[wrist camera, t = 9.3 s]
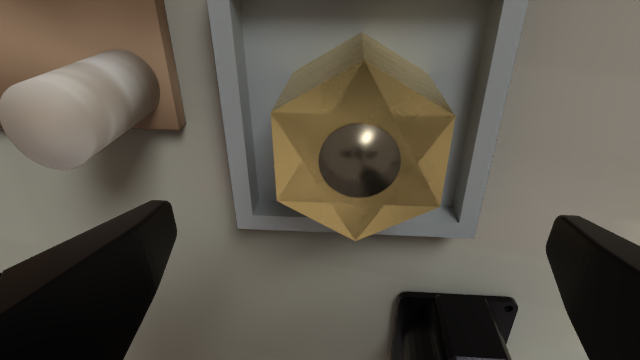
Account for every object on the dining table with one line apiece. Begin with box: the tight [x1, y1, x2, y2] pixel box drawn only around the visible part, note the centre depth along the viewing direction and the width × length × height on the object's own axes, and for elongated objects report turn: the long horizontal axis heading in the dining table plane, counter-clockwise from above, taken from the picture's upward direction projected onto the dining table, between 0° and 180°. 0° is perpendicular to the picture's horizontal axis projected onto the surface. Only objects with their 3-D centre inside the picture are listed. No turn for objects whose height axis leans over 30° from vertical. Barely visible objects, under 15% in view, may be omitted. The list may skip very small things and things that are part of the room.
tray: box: [207, 0, 529, 239], centre depth 17 cm, size 11×11×2 cm
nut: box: [271, 32, 455, 241], centre depth 15 cm, size 6×6×5 cm
